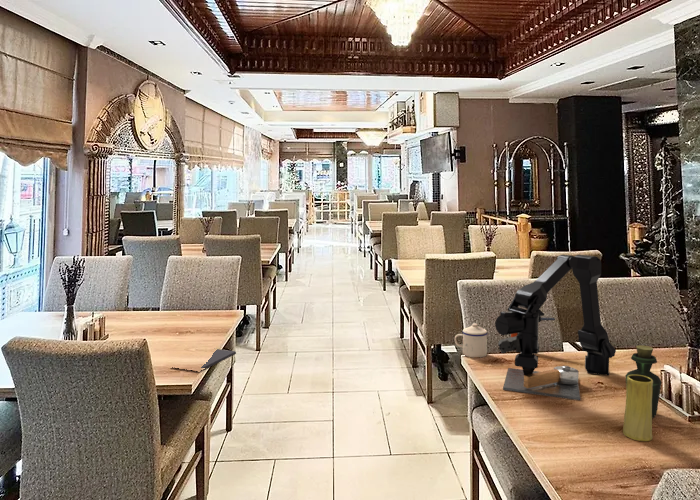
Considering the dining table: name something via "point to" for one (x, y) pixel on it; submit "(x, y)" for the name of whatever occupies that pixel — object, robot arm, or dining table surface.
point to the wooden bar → (552, 377)
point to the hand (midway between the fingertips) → (527, 380)
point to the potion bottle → (647, 372)
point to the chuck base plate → (516, 383)
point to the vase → (638, 408)
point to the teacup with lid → (473, 341)
